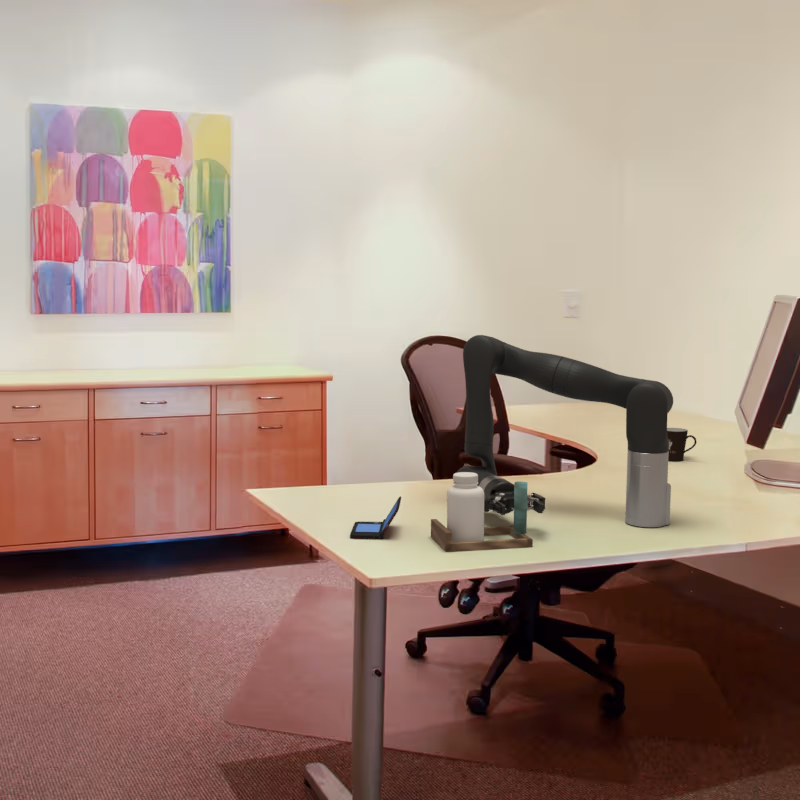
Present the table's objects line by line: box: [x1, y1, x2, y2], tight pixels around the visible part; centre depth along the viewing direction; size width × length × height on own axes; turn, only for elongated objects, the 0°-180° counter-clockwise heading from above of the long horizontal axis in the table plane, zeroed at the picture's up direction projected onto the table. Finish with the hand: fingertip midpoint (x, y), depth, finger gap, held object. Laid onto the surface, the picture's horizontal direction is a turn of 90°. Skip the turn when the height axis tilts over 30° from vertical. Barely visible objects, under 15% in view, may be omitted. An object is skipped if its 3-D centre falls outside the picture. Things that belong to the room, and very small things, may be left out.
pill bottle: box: [446, 472, 485, 542], centre depth 201 cm, size 8×8×15 cm
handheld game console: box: [349, 496, 402, 541], centre depth 210 cm, size 12×11×7 cm
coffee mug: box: [667, 427, 697, 463], centre depth 304 cm, size 12×9×10 cm
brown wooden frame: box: [430, 481, 534, 553], centre depth 202 cm, size 20×12×13 cm, turn 103°
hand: (522, 509), depth 203 cm, fingers open, 8 cm apart
